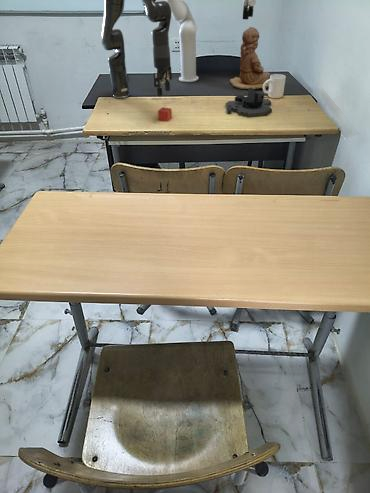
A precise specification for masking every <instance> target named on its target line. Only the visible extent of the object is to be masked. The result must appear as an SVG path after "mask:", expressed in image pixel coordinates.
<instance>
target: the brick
mask: <svg viewBox="0 0 370 493" xmlns="http://www.w3.org/2000/svg"><path fill="white" fill-rule="evenodd" d="M157 117H158V121H164V122H169V121H170V120H171V119H172V118H173V109H172V108H170V107H161V108H160V109H158V110H157Z"/></svg>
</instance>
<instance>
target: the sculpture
mask: <svg viewBox="0 0 370 493" xmlns="http://www.w3.org/2000/svg"><path fill="white" fill-rule="evenodd" d="M241 40H242V43H241V45H240V67H239V69H240V72H239V77H238V76H235V77H234V78H230V79H229V82H230V83H231V85H232V86H233V87H235V88H236V89H240V90H248V88H253V89H254V90H260V89H261V90H262V89H263V84H264V82H265V81H266V80H269V79H270V76H271V73H270V72H268V71H264V70H265V68H264V67H263V65H262V63H261V60H260V59H259V57H258V54H257V53H256V49H257V48H258V46H259V40H260V32H259V30H258V29H257V28H256V27H253V26H249V27H248V28H246V29H245V30H244V31H243V33H242V36H241ZM268 88H269V83H267V84H266V86H265V89H268Z"/></svg>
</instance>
